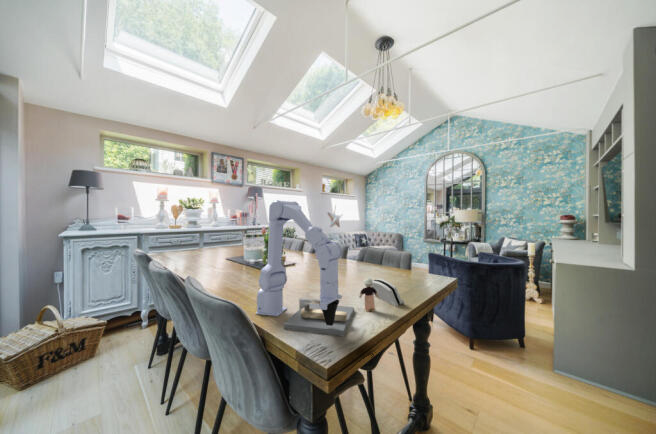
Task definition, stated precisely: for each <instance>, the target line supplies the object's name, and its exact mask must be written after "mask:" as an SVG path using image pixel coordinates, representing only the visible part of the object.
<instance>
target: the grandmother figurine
mask: <svg viewBox="0 0 656 434" xmlns="http://www.w3.org/2000/svg"><path fill="white" fill-rule="evenodd" d="M373 281H374V280H373V279H372V278H371V277H367V278H365V279H364V280H363V283H364V284H363V285H365V287H364V288H362V289H361V290H360V293H359V295H358V297H359V298H360V299H361V298H362V296H364V308H363V309H364V311H365V312H367V313H369V312H370V311H371V312H376V307H375V297H376V298H378V297H379V295H378V293H377V291H376V290H375V289H374V288H373V287H371V285H372V283H373ZM373 293H375V295H376V296H374V295H373Z"/></svg>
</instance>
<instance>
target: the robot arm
mask: <svg viewBox="0 0 656 434" xmlns="http://www.w3.org/2000/svg"><path fill="white" fill-rule="evenodd" d="M268 212H269V213H268V221H269V222H268V241H267V242H268V243H267V264H266V265H265V266H264V267H262V268H261V269H260V275H259V278H258V285H259V287H260V289H259V290H258V291H257V295H256V312H255V314H256V315H263V316H273V317H279V316H280V315H281V314H282V313H283V312H285V311H286V310H287V309H288V307H286V306H284V299H283V297H284V296H283V293H284V292H283V290H284V288H285V285H286V284H287V281H288V276H287V271H286V270H287V269H286V267H285V266H284V265H283V264H282V259H283V257H282V256H283V241H284V240H283V236H284V225H285V224H286V223H287V222H289V221H291V220H292V221H293V222H294V223H295V224H296V225H297V226H298V227H299V228H300V229H301V230H302V231H303V232H304V233H305V234H304V238H305V239H306V241H307V242H308V243H309V245H310V246H311V247H312V248H313V249H314V251H315V257H316V260H317V261H318V266H319V280H320V281H319V287H320V289H319V290H320V293H319V294H320V295H319V299H320V303H319V306H320V309H321V310H322V312H323V314H324V318H325V322H326V325H330V326H333V324H334V319H335V313H336V309H337V306H339V303H340V300H341V299H342V298H343V294H340V293H339V259H340V258H341V257H342V248H341V246H340V244H339V243H338V242H337V241H332V240H331V239H330V238H329V237H328V236H327V235H326V234H325V233H324V232H323V229H322V228H321V227H320V226H317V225H316V226H314V225H313V224H312V223H311V221H310V220H309V218H308V217H307V215H305V213H304V212H303V210H302V206H301V205H299V203H298V202H297V201H294V200H293V201H290V200H289V201H286V200H280V199H279V200H278V199H275V200H273V201H272V202H271V204H270V205H269V210H268Z"/></svg>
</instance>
